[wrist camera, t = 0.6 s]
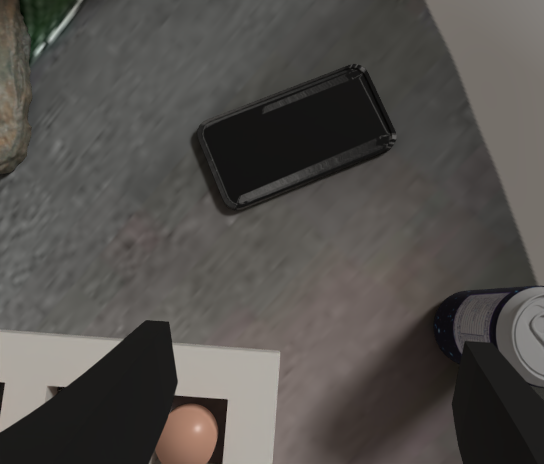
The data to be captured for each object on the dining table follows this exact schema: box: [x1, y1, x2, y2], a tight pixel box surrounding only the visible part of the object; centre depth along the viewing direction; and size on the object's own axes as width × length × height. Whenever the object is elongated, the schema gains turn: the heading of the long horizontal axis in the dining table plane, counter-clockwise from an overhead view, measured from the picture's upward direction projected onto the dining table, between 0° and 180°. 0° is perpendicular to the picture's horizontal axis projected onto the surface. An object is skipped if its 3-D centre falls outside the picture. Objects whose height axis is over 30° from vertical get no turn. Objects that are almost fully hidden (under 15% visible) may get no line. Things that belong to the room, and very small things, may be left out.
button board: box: [0, 329, 280, 464], centre depth 36 cm, size 28×12×2 cm, turn 86°
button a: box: [155, 403, 218, 464], centre depth 34 cm, size 4×4×2 cm
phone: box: [197, 64, 396, 210], centre depth 40 cm, size 8×1×15 cm
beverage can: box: [434, 286, 544, 388], centre depth 32 cm, size 6×6×12 cm
